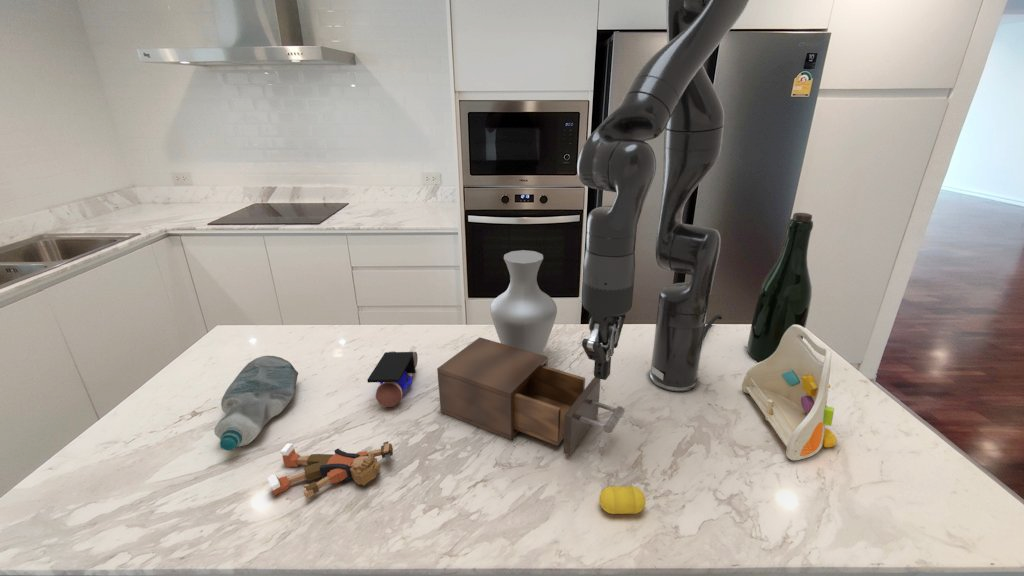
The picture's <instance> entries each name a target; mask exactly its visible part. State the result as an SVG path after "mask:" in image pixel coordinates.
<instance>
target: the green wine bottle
mask: <svg viewBox="0 0 1024 576" xmlns="http://www.w3.org/2000/svg"><path fill="white" fill-rule="evenodd" d="M812 219H813V215H812V214H811V213H807V212H794V213H793V215H792V217H791V218H790V219H789V221H788V223H787V231H786V235H785V239H784V243H783V246H782V249H781V251H780V255H779V256H778V258H777V260H776V261H775V263H774V265H773V266H772V268H771V269H770V270H769V271H768V273H767V275H766V276H765V277H764V279H763V281H762V283H761V285H760V288H759V292H758V295H757V299H756V303H755V308H754V312H753V317H752V321H751V326H750V329H749V334H748V339H747V344H746V351H747V353H748V354H749V355H750V356H751V357H752V358H753V359H755V360H757V361H759V362H762V361H764V360H766V359H767V358H769V357H770V356H771V355H772V354H773V353H774V352H775V351H776V350H777V348H778V346H779V344H780V341H781V339H782V337H783V335H784V333H785V332H786V331H787V329H788V328H789V327H791V326H792V325H800V326H802V327H804V328H805V329H806V327H807V322H808V317H809V314H810V308H811V301H812V297H813V286H812V280H811V276H810V271H809V266H808V253H809V251H808V250H809V244H810V238H811V233H812V231H813V228H814V221H813V220H812ZM801 339H802V340H803V341H804V338H803V337H802V336H801Z"/></svg>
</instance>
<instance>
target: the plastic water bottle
mask: <svg viewBox="0 0 1024 576" xmlns="http://www.w3.org/2000/svg"><path fill="white" fill-rule="evenodd" d="M298 376H299V372H298V371H297V370H296V368H295V367H294V366H293V365H292V363H291V362H290V361H289V360H287V359H284V358H283V357H279V356H276V355H261V356H258V357H256V358H254V359H253V360H251V361H249V362H248V363H246V365H245V366H244V367H243V368H242V369H241V371H240V372H239V373H238V374H237V375H236V377H235V378H234V380H233V381H232V382H231V383H230V385H229V386H228V387H227V388H226V390H225V391H224V394H223V396H222V398H221V402H220V406H221V410H222V411H223V412H224V413H225V416H223V417H222V418H221V419H219V421H218V423H217V424H215V427H214V429H213V432H214V435H215V436H216V437H217V438H218V439H219V440H220V441H219V446H220V448H221V449H223V450H224V451H233V450H234V449H235V448H237V447H244V446H245V447H246V446H248V445H249V444H250V443H252V442H253V441H254V440H255V439H256V438H257V437H258V435H259V434H260V433H261V431H262V430H263V429H264V427H265V425H266V424H267V423H268V422H269V421H270V420H271V419H273V418H274V417H276V416H278V415H279V414H281V413H282V412H283V411H284V410H285V408H286V407H287V406H288V405H289V403H290V402H291V400H292V399H293V398H294V397H295V394H296V387H297V382H298V381H297V380H298Z"/></svg>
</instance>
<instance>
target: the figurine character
mask: <svg viewBox="0 0 1024 576" xmlns="http://www.w3.org/2000/svg"><path fill="white" fill-rule="evenodd" d="M418 359H419V357H418V353H417V351H386V352H384V353H383V355H382V356H381V358H380V359H379V361H378V363H377V364H376V365H375V367H374V369H373V370H372V371H371V373H370V374H369V376H368V377H367V380H366V381H367V383H379V384H380V385H379V386H378V387H377V389H376V391H375V399H376V402H377V403H378V404H379V405H380V406H382V407H383V408H393V407H395V406H396V405H398V404H399V403H400V402H401V400H402V398H403V391H405V390H407V387H409V386H410V385H411V384H412V383H413V376H414V375H413V374H416V368H417V366H418V362H419V361H418Z"/></svg>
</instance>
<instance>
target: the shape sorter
mask: <svg viewBox="0 0 1024 576" xmlns="http://www.w3.org/2000/svg"><path fill="white" fill-rule="evenodd" d="M801 336H802V337H803V340H802V339H801ZM804 340H805V341H806V342H807V343H808V344H809V345H808V344H807V343H806V342H805V341H804ZM809 346H810V347H811V348H812V349H813V350H814V351H815V352H816V353H818V355H821V356H823V357H824V360H823V361H821V360H820V359H819V358H818V357H817V356H816V355H815V353H814V352H813V350H812V349H811V348H810V347H809ZM831 364H832V350H831V349H830V348H828V347H827V346H825V345H823V344H822V343H820V342H819V341H818V339H817V338H816V337H815V336H814V335H813V334H812V333H811V332H810V331H809V330H808V329H807V328H806V327H805V328H804V327H802V326H800V325H792V326H791V327H789V328H788V329H787V331H786V332H785V333H784V335H783V337H782V339H781V341H780V344H779V346H778V348H777V350H776V351H775V352H774V353H773V354H772V355H771V356H770V357H769V358H767V359H766V360H764V361H762V362H761V361H759V362H758V363H757V362H756V364H754V365H753V366H752V367H750V368H749V369H748V371H747V372H746V373H745V375H744V377H743V379H742V383H741V389H742V392H743V393H745V394H747V395H750V397H751V398H752V400H753V401H754V402H755V403H756V405H757V407H758V408H759V410H760V411H761V412H762V415H764V419H765V421H767V422H768V424H770V426H771V427H772V429H773V430H774V431H775V433H776V434H777V435H778V437H779V438H780V440H781V442H782V443H783V445H784V446H785V447H786V450H785V455H786V457H787V458H788V459H789V460H790V461H799V460H804V459H807V458H810V457H812V456H814V455H816V454H817V453H818V452H819V451H820V450H821V449H822V448H823V447H824V448H832V447H834V446H836V444H837V436H836V434H835V433H834V432H833V431H832V430H830V429H829V428H826V426H829V427H832V425H833V419H834V413H835V408H834V407H832V406H827V404H828V395H829V388H831V384H830V383H829V382H830V374H831Z"/></svg>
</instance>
